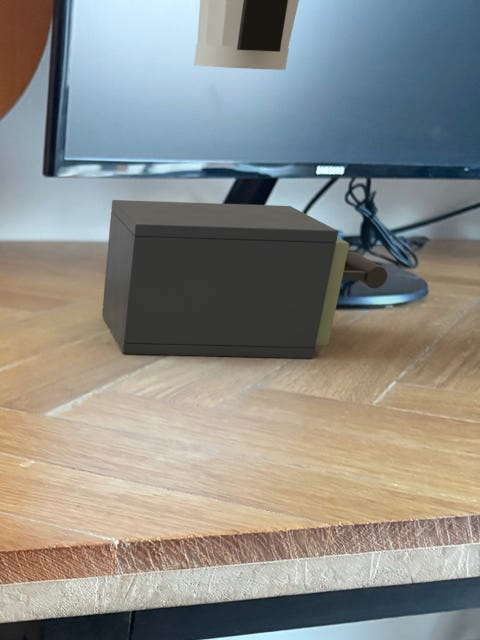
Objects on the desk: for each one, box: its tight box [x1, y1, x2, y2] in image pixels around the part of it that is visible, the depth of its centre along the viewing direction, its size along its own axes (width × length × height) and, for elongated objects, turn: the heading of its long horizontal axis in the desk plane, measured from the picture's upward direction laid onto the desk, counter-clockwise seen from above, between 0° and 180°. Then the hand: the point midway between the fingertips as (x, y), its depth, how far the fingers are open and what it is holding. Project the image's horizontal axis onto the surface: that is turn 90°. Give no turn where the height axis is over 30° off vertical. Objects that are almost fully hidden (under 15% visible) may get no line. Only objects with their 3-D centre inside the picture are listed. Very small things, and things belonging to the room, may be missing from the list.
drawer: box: [316, 237, 388, 346], centre depth 78 cm, size 18×10×7 cm, turn 93°
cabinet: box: [101, 199, 339, 359], centre depth 77 cm, size 15×12×9 cm
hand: (242, 49), depth 69 cm, fingers closed on cup, 7 cm apart
